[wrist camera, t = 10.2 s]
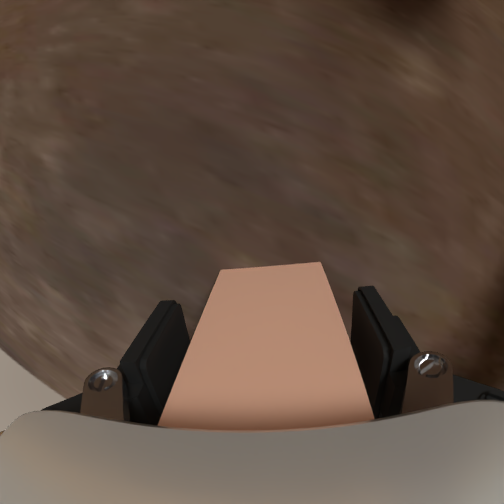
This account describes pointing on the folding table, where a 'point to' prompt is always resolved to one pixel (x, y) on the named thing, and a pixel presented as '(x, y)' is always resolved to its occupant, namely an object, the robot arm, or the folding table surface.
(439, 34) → the folding table surface
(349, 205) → the folding table surface
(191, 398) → the domino
